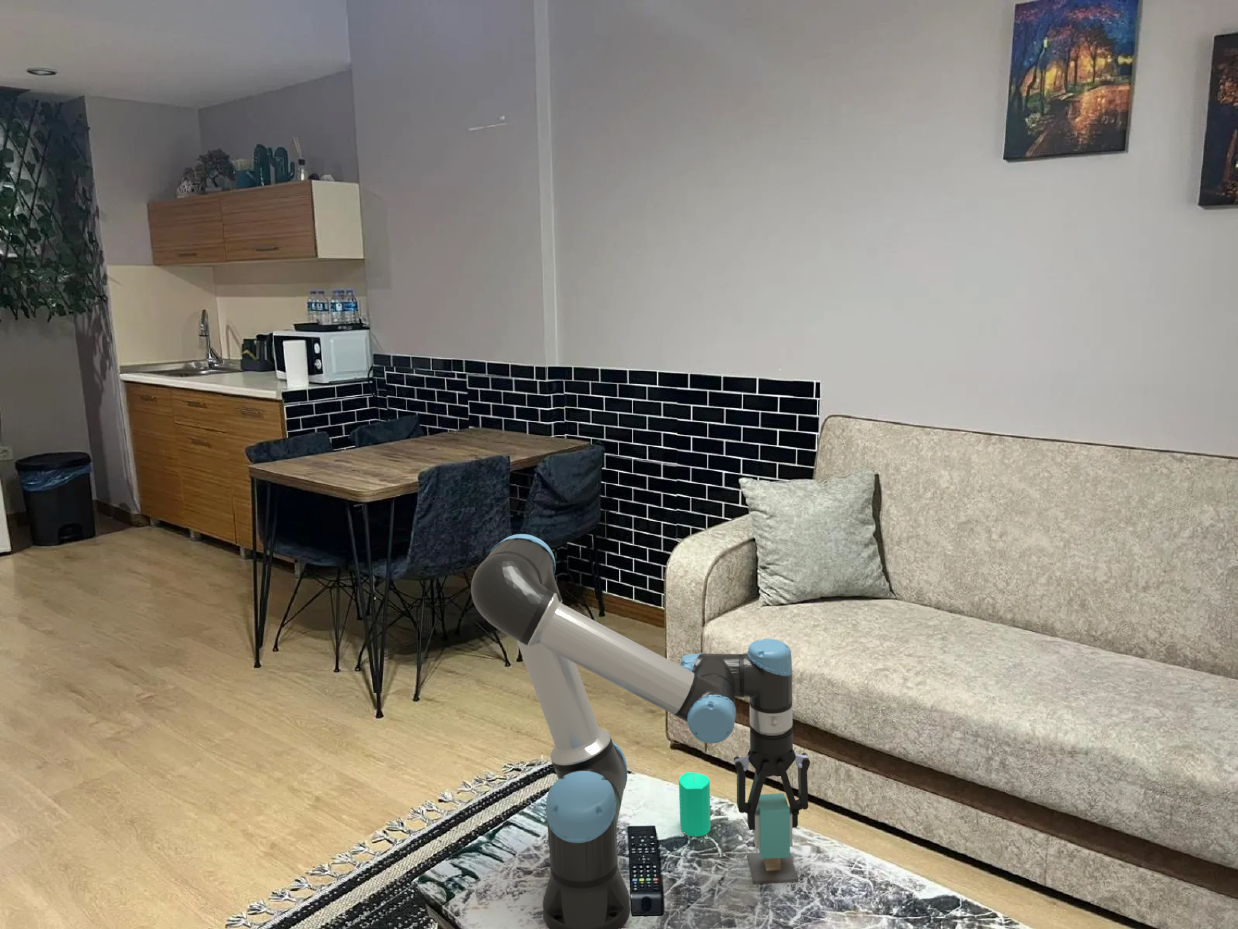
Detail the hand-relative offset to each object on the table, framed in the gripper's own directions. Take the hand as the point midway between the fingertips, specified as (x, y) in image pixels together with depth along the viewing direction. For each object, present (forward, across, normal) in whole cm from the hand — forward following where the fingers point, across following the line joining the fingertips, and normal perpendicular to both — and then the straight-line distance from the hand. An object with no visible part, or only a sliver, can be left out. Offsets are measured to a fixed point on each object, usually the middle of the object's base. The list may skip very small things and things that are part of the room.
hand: (772, 843), depth 168 cm
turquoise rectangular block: (+1, 0, 0) cm, 1 cm away
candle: (+5, -13, +14) cm, 20 cm away
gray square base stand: (+5, 0, 0) cm, 5 cm away
